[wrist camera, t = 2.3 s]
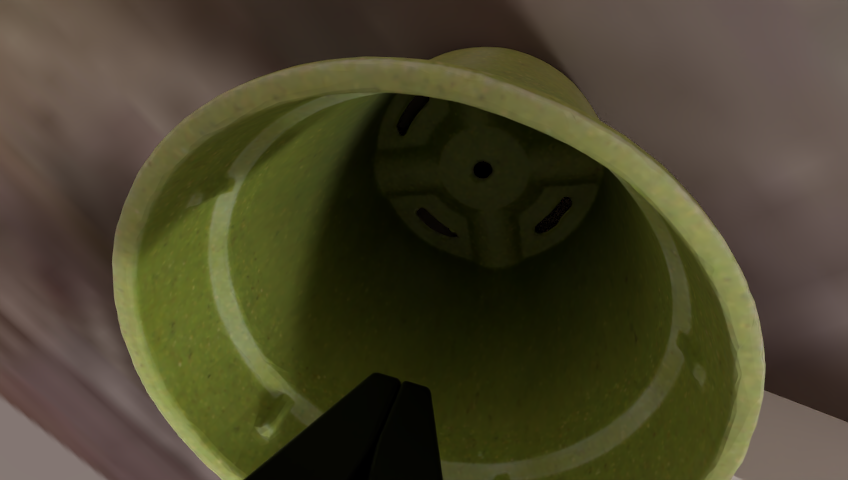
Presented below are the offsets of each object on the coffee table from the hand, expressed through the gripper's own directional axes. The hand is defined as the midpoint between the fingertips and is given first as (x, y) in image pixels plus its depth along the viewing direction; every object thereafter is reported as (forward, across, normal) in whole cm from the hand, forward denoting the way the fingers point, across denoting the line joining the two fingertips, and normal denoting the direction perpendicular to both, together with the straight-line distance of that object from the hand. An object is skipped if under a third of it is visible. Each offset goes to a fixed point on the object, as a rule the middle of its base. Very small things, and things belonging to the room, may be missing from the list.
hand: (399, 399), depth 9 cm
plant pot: (+9, 0, 0) cm, 9 cm away
